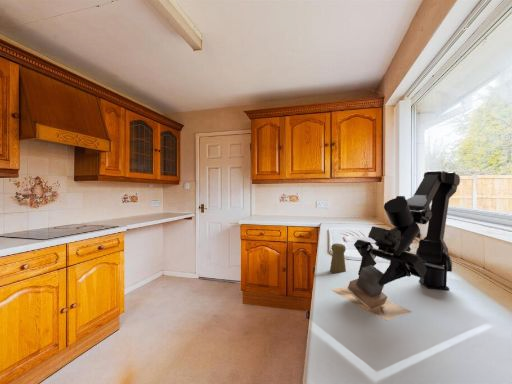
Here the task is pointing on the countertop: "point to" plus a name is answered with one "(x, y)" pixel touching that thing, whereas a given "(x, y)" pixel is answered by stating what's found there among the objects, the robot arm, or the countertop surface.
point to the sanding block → (368, 287)
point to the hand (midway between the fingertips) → (368, 279)
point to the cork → (338, 259)
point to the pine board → (384, 311)
